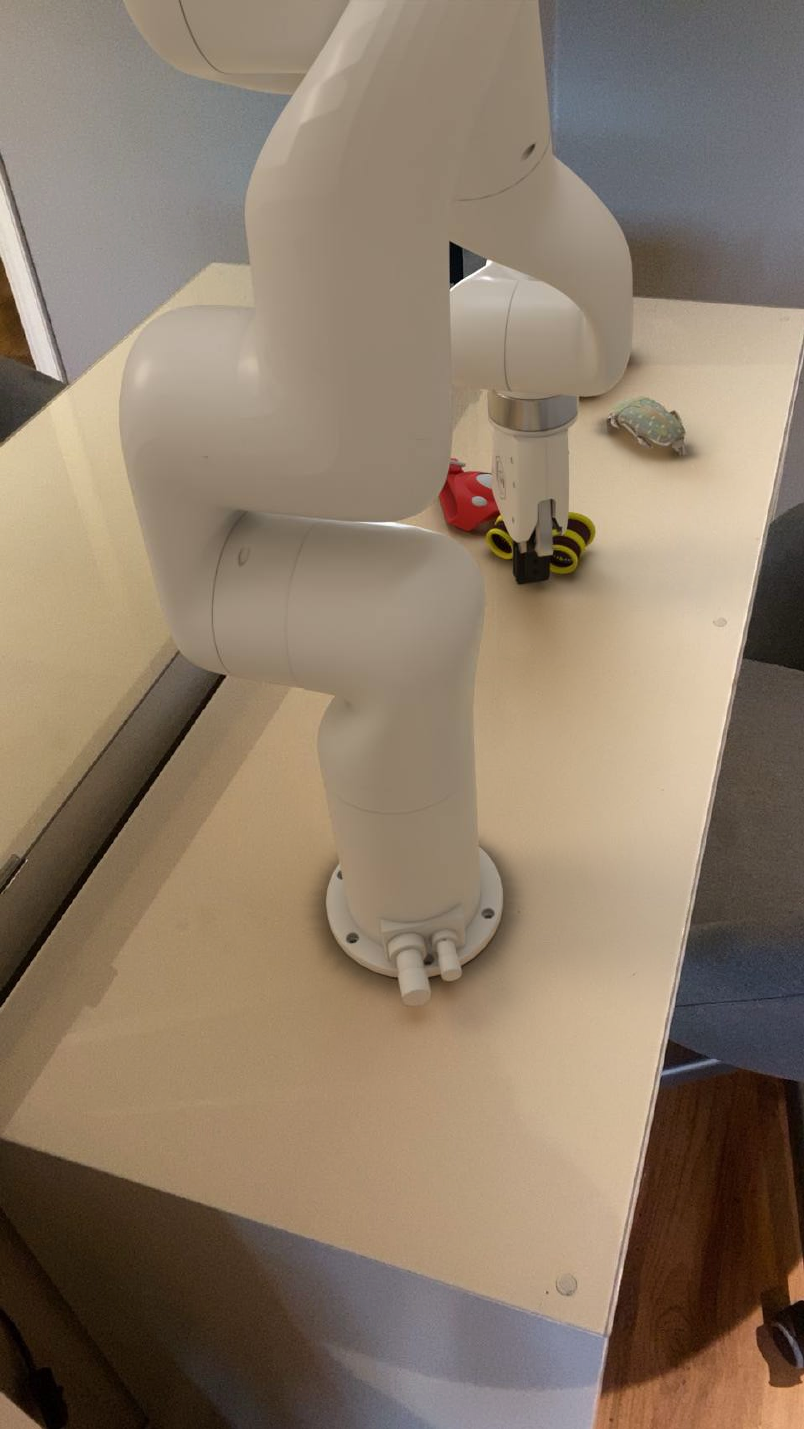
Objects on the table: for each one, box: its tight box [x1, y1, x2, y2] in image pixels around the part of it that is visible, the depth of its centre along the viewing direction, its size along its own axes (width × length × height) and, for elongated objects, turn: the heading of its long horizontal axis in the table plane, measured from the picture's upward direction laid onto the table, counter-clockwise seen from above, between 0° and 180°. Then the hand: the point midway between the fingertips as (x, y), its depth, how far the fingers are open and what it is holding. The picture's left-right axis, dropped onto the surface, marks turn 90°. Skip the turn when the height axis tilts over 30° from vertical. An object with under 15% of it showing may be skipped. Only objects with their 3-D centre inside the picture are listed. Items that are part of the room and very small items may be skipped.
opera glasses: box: [485, 511, 597, 575], centre depth 102 cm, size 10×5×5 cm, turn 60°
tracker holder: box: [439, 457, 501, 532], centre depth 109 cm, size 12×4×10 cm
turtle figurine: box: [606, 396, 687, 456], centre depth 117 cm, size 9×11×5 cm
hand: (531, 577), depth 99 cm, fingers closed
